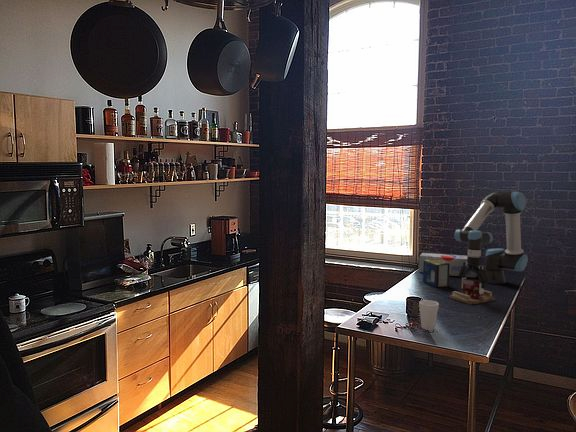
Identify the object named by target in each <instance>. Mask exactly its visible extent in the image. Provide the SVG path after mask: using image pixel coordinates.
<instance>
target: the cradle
mask: <svg viewBox="0 0 576 432" xmlns="http://www.w3.org/2000/svg"><path fill="white" fill-rule="evenodd" d="M474 290H475V289H474ZM474 290H473V292H474ZM492 294H493V293H492V291H489V290H485V289H484V292H483V296H479V297H478V298H476V299H475V298H473V297H472V294H471V295H470V296H469V295H466V294H463V292H459V291H456V290H454V291H452V294H450V295H449V299H453V300H456V301H458V302H461V303H464V304H467V305H476V304H482V303H488V302H493V301H495V297H493V295H492Z"/></svg>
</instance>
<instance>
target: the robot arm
mask: <svg viewBox="0 0 576 432" xmlns="http://www.w3.org/2000/svg"><path fill="white" fill-rule="evenodd" d="M526 205H527V199H526V197H525V195H524V194H523V192H520V191H515V190H514V191H513V190H512V191H511V190H510V191H509V190H507V191H506V190H496V191H493V192H490V193H489V194H488V195H486V196H485V197H484V198H483V199H482V200H481V201H480V205H479V207H478V208H477V209H476V211H475V212H474V213H473V214H472V216H471V217H470V218H469V220H468V221H467V222H466V223H465V225H464V226H463V228H462V229H461V228H460V229H459V228H458V229H455V232H454V239H455V241H457V242H461V243H467V256H468V257H467V262H464V263H463V267H462V269H461V271H460V273H459V276H458V277H461V280H460V281H461V289H463V283H462V280H463V279H467V277H465V276H466V275H467V274H468V273H469V272H470V271H473V272H475V273H476V274H477V276H476V277H477V278H478V279H479V280H478V281H479V283H480V288H479V294H482V293H483V292H484V290H485V287H486V283H487V284H493V285H503V284H506V278H505V273H504V270H510V271H514V272H523V271H524V270H525V268H527V264H528V261H529V258H528V255H527V254H525V250H524V249H523V248H522V237H521V236H522V235H521V233H522V232H521V214H522V213H523V211H524V209H526ZM496 209H502V213H503V214H504V215H505V231H506V233H505V234H506V238H505V239H506V249H505V248H501V247H500V248H498V247H497V248H488V249H486V251H485V262H484V263H485V265H481V256H482V246H484V245H485V246H487V245H490V244H491V243H492V242H493V240H494V237H493V235H492V233H491V232H489V231H481V230H478V229H479V228H480V227H481V226H482V224H483V223H484V222H485V220H486V218H487V217H488V216H489V215H490V214H491V213H492V212H494V211H495V210H496ZM467 266H468V268H467ZM466 268H467V269H466ZM465 270H466V271H465Z"/></svg>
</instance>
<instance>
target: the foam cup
mask: <svg viewBox="0 0 576 432" xmlns="http://www.w3.org/2000/svg"><path fill="white" fill-rule="evenodd" d="M418 303H419V304H418V307H419V315H420V316H419V317H420V324H421V329H422V330H426V331H434V330H435V327H436V321H437V316H438V310H439V308H440V307H439V306H440V303H439V302H438V301H435V300H432V299H431V300H429V299H425V300H424V299H423V300H420V301H419V302H418Z"/></svg>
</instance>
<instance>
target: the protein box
mask: <svg viewBox="0 0 576 432" xmlns="http://www.w3.org/2000/svg"><path fill="white" fill-rule="evenodd" d="M449 268H450V264H449V263H446V262H443V261H440V260H437V259H432V260H424V266H423V273H422V283H425V284H427V285H429V286H432V287H435V288H442V287H449V286H450V275H449Z"/></svg>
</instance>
